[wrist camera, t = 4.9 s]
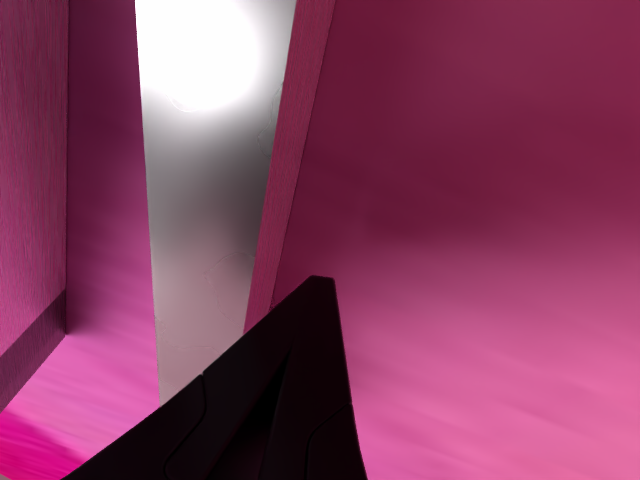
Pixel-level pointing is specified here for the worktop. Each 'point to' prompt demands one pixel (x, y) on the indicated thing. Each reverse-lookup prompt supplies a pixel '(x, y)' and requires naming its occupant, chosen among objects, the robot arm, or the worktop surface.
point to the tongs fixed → (32, 186)
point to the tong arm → (221, 162)
